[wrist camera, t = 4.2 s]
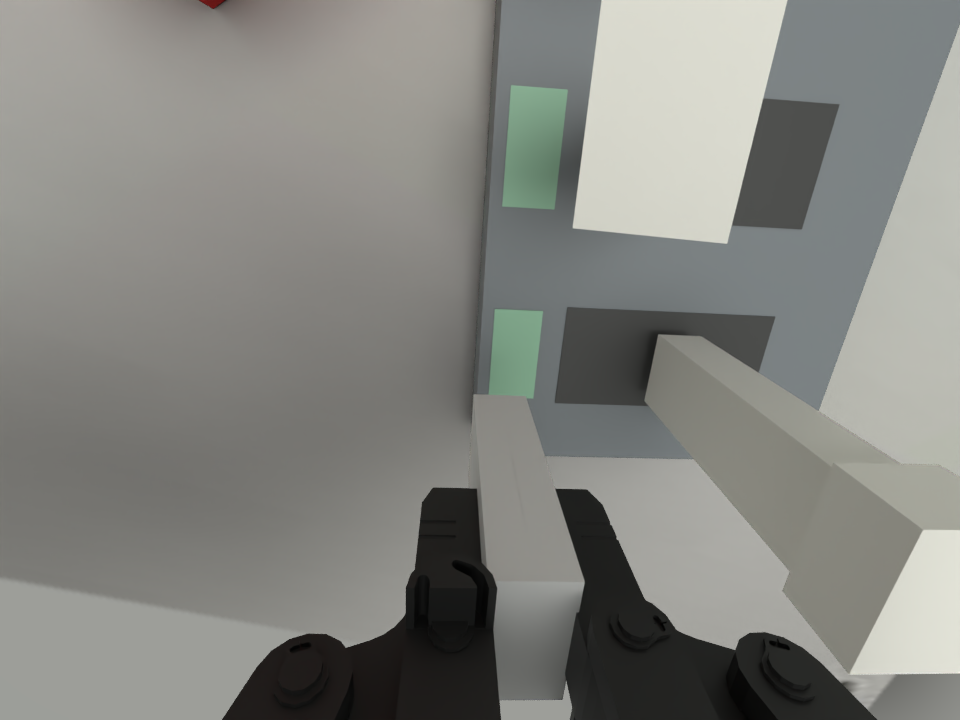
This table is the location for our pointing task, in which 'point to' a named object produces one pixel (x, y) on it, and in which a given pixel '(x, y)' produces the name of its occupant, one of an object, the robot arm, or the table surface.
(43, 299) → the table surface
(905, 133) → the breaker panel
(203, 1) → the fire alarm
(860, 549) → the handle
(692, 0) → the handle
